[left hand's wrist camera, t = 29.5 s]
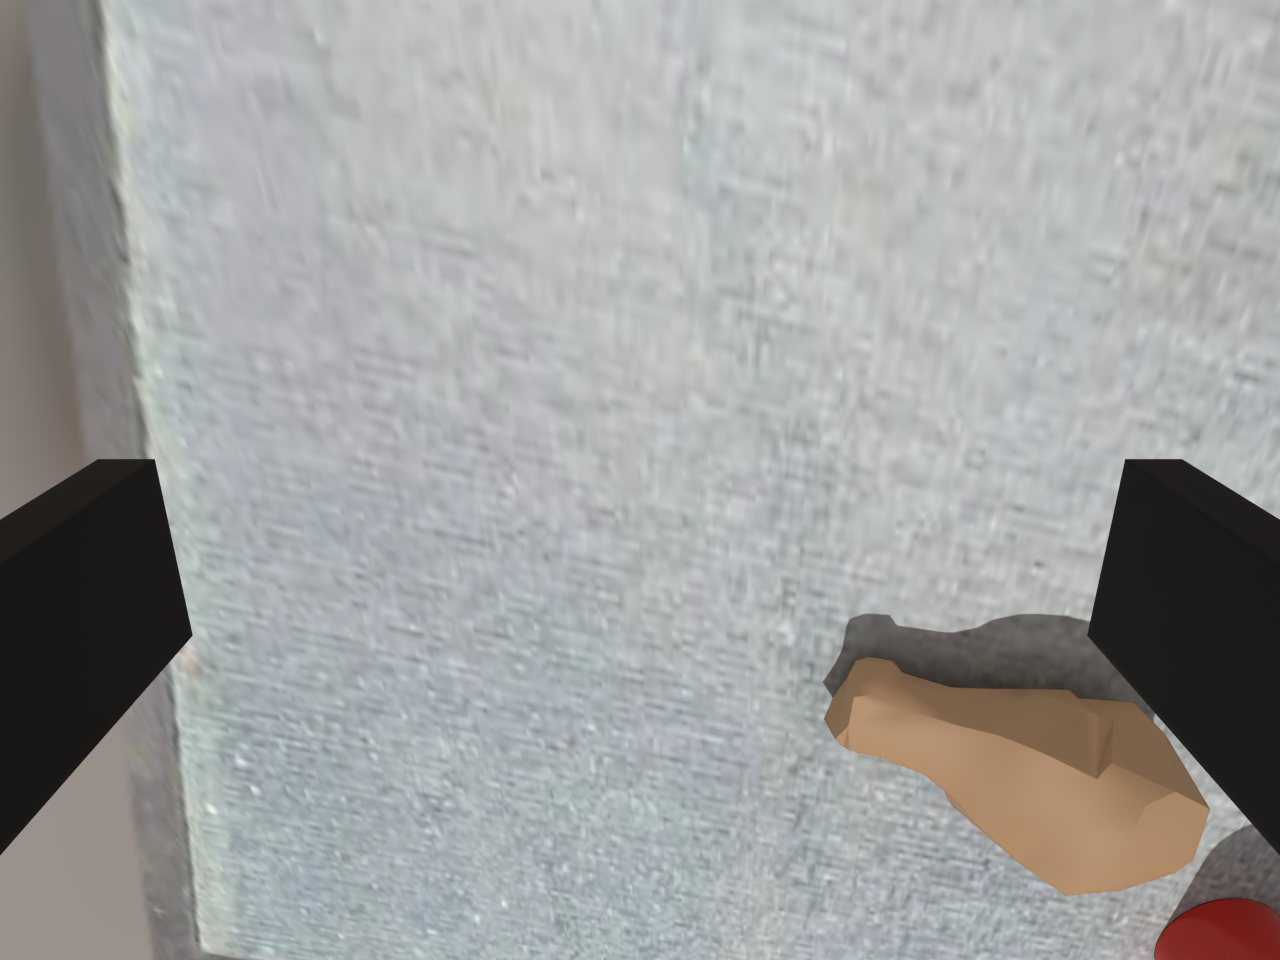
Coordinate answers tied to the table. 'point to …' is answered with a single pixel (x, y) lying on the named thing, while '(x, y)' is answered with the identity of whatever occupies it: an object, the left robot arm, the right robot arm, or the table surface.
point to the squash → (1035, 772)
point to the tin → (1222, 933)
